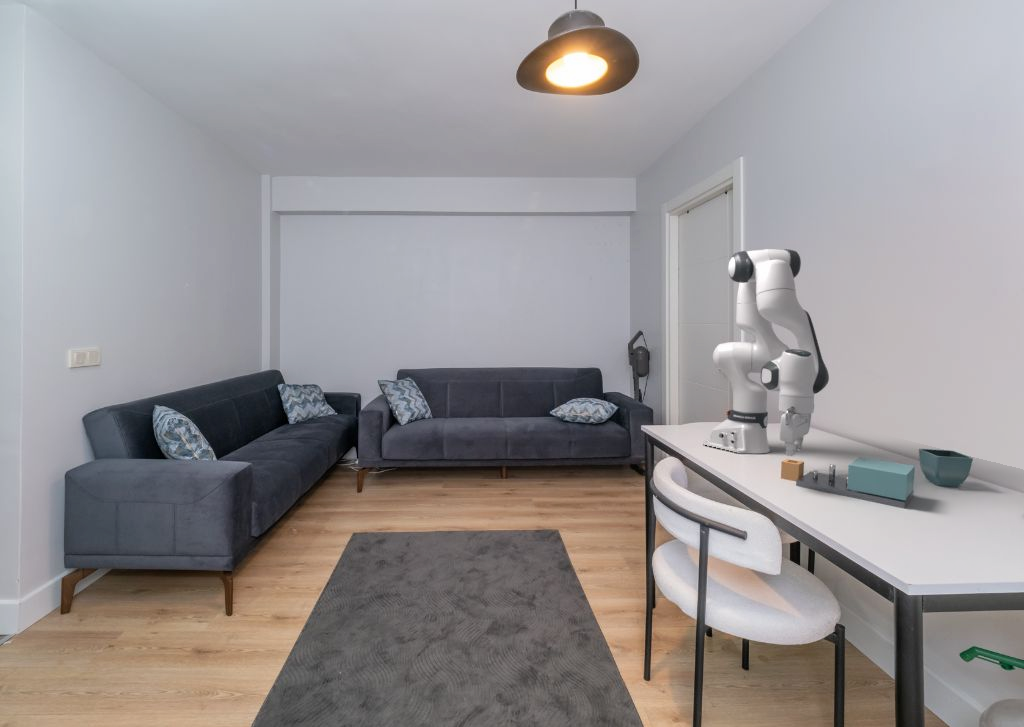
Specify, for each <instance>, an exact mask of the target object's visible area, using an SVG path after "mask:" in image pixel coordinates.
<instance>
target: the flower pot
mask: <svg viewBox="0 0 1024 727" xmlns="http://www.w3.org/2000/svg"><path fill="white" fill-rule="evenodd" d="M918 453H919V454H918V457H919V464H920V469H921V472H922V474H923V475H924V478H925V479H926V480H927V481H928V482H930V483H933V484H934V485H936V486H938V487H941V486H942V487H953V488H957V487H960V486H961V485H962V484H963V483H964V482H965V481H966V480H967V478H968V477H969V475H970V471H971V467H972V465H973V461H974V460H973V459H974V457H971V456H969V455H966V454H963V453H961V452H958V451H955V450H949V449H931V448H929V449H928V448H918Z"/></svg>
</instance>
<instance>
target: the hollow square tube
mask: <svg viewBox="0 0 1024 727" xmlns="http://www.w3.org/2000/svg"><path fill="white" fill-rule="evenodd" d="M780 465H781V467H780V468H781V470H780V479H783V480H787V481H793V482H796V480H797V479H799V478H801V477H802V476H804V475H805V474H804V473H805V472H804V471H805V461H803V460H796V459H790V458H786V459H783V460H782V461H781V464H780Z"/></svg>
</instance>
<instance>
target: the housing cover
mask: <svg viewBox="0 0 1024 727" xmlns="http://www.w3.org/2000/svg"><path fill="white" fill-rule="evenodd" d="M915 470H916V466H915V465H913V464H905V463H899V462H893V461H888V460H887V461H886V460H882V459H881V460H880V459H875V458H868V457H861V456H859V457H858V458H856V459H855V460H853V461H852V462H851V463H850V464H848V470H847V472H848V473H847V477H848V487H847V489H850V490H855V491H860V492H865V493H870V494H875V495H880V496H885V497H890V498H895V499H900V500H906V499H907V498H908V496H909V495H910V494H911V492H912V491H914V490H915V489H914V488H915V487H914V486H915Z"/></svg>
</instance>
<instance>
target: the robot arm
mask: <svg viewBox="0 0 1024 727" xmlns="http://www.w3.org/2000/svg"><path fill="white" fill-rule="evenodd" d="M801 266H802V261H801V256H800V254H799V253H798V251H796V250H792V249H788V248H785V249H778V248H777V249H774V248H764V249H757V250H756V249H755V250H748V251H747V250H742V251H737V252H735V253H733V255H732V256H731V257H730V259H729V262H728V266H727V270H728V276H729V278H730V279H731V280H732V281H733V282H735V283H738V289H737V294H736V295H737V296H736V311H735V312H736V313H735V316H736V317H735V323H736V324H735V325H736V326H737V327H738V329H740V330H741V331H743V332H745V333H748V334H750V335H752V337H754V341H749V342H748V341H730V342H724V343H723V342H722V343H719V344H718V345H717V346H716V347H715V348H714V351H713V352H712V360H713V361H712V362H713V364H714V366H715V367H716V368H717V369H718V370H719V371H721V372H722V373H723V374H724V375H725V377H727V379H728V381H729V383H730V386H731V391H732V408H731V409H729V410H727V411H725V416H727V418H726V419H725V420H723V421H722V422H720V423H718V424H717V425H715V426H714V427H713V428H711V431H710V434H709V438H707V439H705V440H703V442H702V445H703V444H704V445H703V446H705V445H707V446H706V447H709V446H712V447H711V448H713V447H716V448H715V449H717V448H721V449H720V450H722V449H725V450H724V451H726V450H729V451H728V452H730V451H733V452H732V453H734V452H737V453H736V454H767V453H770V452H771V449H770V446H769V440H768V432H767V430H768V429H767V428H768V424H769V416H768V414H769V413H768V410H767V408H768V407H767V405H768V404H767V403H768V391H767V390H769V391H771V392H779V394H778V411H779V412H782V415H781V417H780V424H779V425H780V426H779V440H780V442H784V447H785V455H786V456H787V457H793V456H794V455H795V452H800V451H801V450H802V448H803V442H804V437H805V436H807V435H808V434H809V432H810V428H811V421H812V414H813V413H814V412H815V411H814V410H815V394H818V393H820V392H821V391H822V390H824V388H826V386H828V383H829V381H830V380H829V379H830V376H829V375H830V374H829V371H828V369H827V366H826V364H825V362H824V360H823V357H822V353H821V350H820V346H819V343H818V342H819V341H818V338H817V334H816V331H815V328H814V323H813V321H812V318H811V316H810V313H809V312H808V311H807V310H805V309H804V308H803V307H802V305H801V304H800V302H799V299H798V296H797V292H796V290H797V289H796V283H795V278H796V277H797V276H798V275H799V273H800V271H801ZM772 324H775V325H777V326H780V327H782V328H784V329H787V330H789V331H790V332H791V333H792V334H793V335H794V337H795V338H796V341H797V345H798V349H794V348H793V349H791V348H790V347H789V346H788V345H787V344H785V343H784V342H783V341H781V340H780V339H779V337H778V336H777V334H776V333H775V331H774V328H773V325H772ZM754 373H755V374H756V373H757V374H758V373H760V382H761V384H762V385H761V384H760V383H758V382H756V381H753V380H752V379H751V378H749V374H754Z"/></svg>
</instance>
